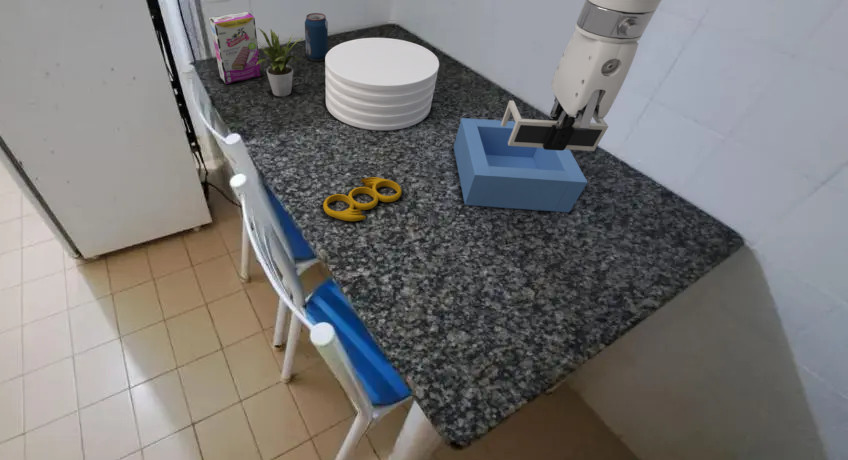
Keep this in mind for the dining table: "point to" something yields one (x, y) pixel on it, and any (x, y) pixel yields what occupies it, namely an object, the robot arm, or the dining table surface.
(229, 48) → the candy bar box
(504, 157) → the bin
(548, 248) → the dining table surface
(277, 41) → the house plant
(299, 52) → the dining table surface
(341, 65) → the plate stack
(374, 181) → the yellow winged triple ring
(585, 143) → the white sunglasses
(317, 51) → the soda can
